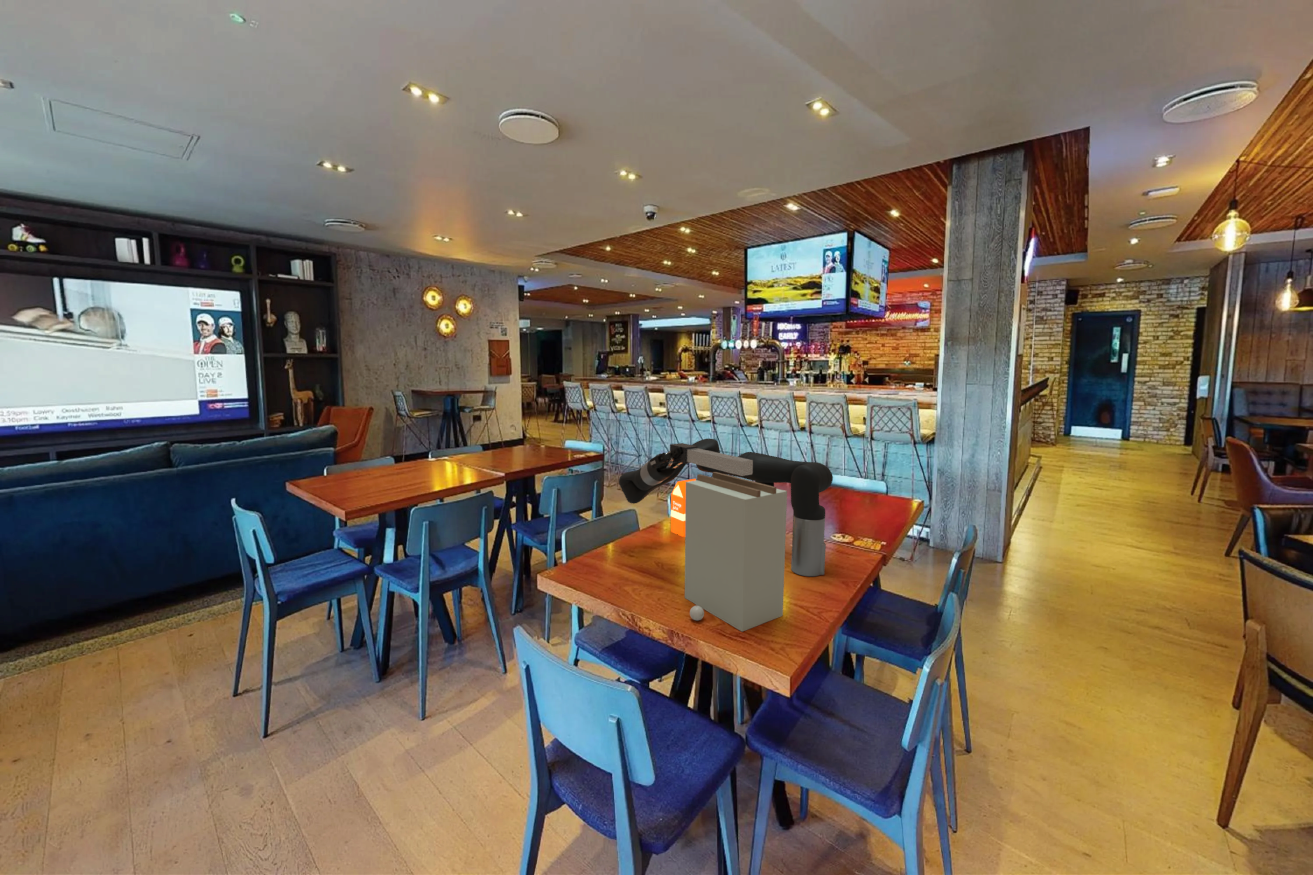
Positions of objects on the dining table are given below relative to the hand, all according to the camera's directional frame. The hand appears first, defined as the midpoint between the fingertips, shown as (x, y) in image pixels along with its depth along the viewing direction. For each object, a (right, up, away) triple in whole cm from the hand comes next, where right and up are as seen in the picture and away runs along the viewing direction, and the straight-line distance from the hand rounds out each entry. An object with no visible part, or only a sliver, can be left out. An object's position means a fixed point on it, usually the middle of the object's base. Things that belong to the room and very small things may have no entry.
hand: (687, 449), depth 147 cm
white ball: (+1, -42, -17) cm, 45 cm away
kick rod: (+5, -5, -7) cm, 10 cm away
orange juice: (+2, -33, +50) cm, 60 cm away
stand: (+11, -41, -10) cm, 43 cm away
